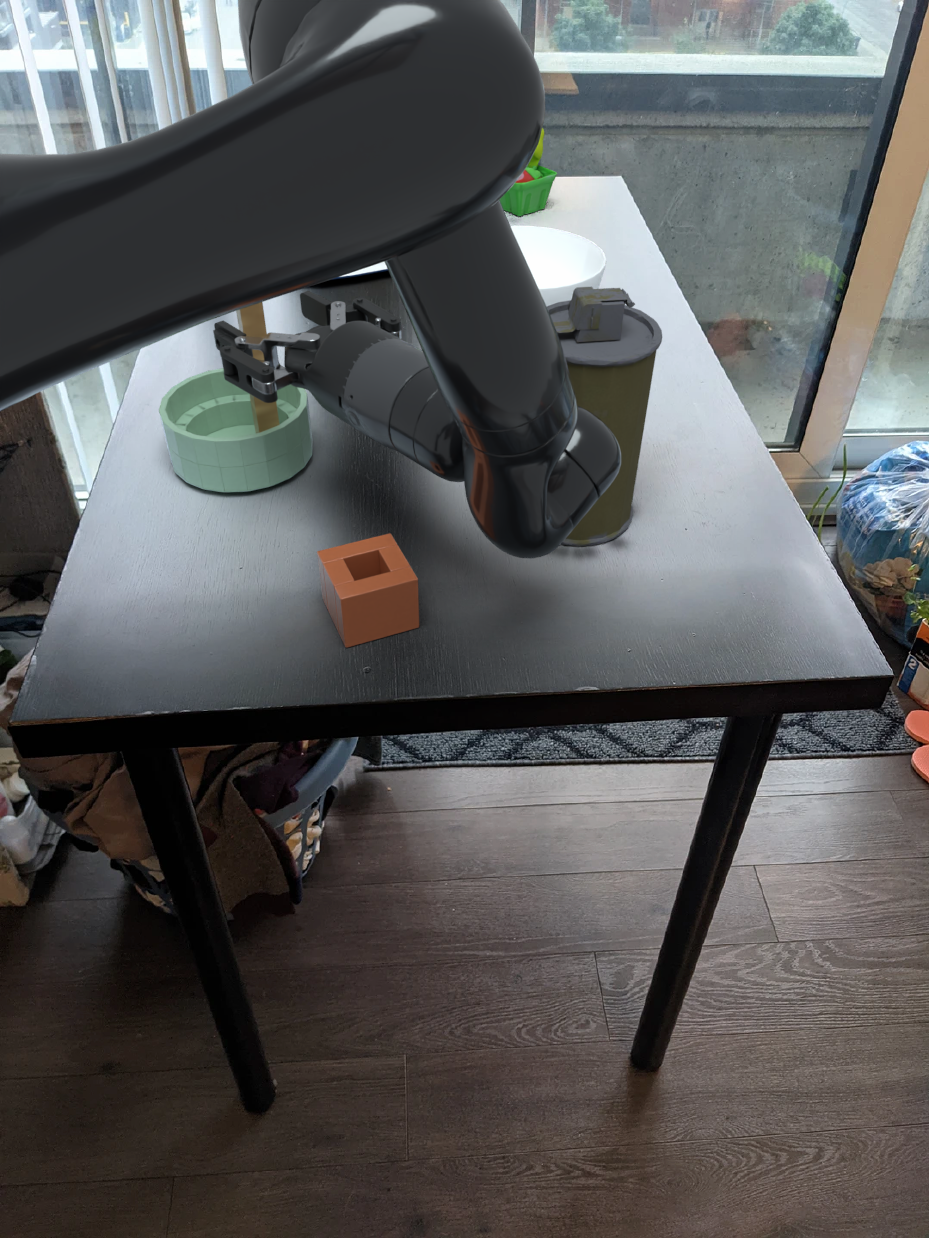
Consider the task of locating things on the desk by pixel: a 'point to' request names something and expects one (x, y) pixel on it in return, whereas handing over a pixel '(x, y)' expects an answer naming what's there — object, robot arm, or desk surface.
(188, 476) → the mixing bowl
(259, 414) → the stirring stick
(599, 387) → the canister
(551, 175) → the fruit basket
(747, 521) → the desk surface
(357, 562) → the orange square socket block
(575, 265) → the bowl
